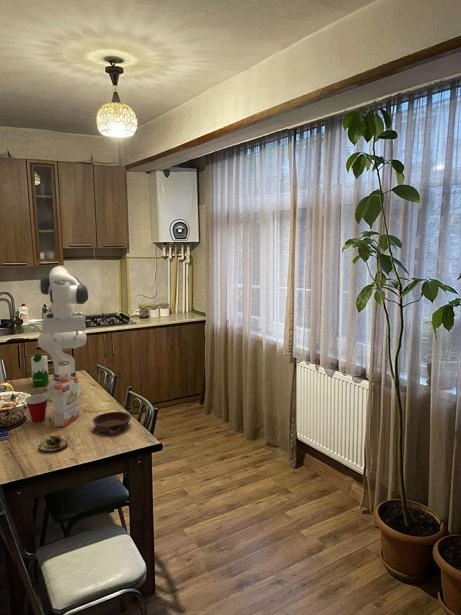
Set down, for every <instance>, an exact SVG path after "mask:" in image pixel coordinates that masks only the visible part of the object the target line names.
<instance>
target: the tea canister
mask: <svg viewBox="0 0 461 615" xmlns="http://www.w3.org/2000/svg"><path fill="white" fill-rule="evenodd" d="M58 373H59V382H68V381H70V380H71V374H70V361H61V362H58Z"/></svg>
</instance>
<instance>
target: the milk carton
mask: <svg viewBox="0 0 461 615" xmlns="http://www.w3.org/2000/svg"><path fill="white" fill-rule="evenodd" d="M30 365H31V379H32V386H33V388H41V387H42V388H44V387H46V386H48V384H49V383H50V382H49V380H50V379H49V366H48V355H42V354H41V353H35V354H34V355H33V356H32V357H31V358H30Z"/></svg>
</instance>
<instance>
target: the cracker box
mask: <svg viewBox="0 0 461 615" xmlns="http://www.w3.org/2000/svg"><path fill="white" fill-rule="evenodd" d="M78 382H79V378H78V377H77V376H76V377H71V380H70V381H68V382H57V383H55V384H53V385H52V389H53V401H52V402H53V406H52V407H53V421H54V422H53V423H54V424H53V425H54V427H60V428H61V427H62V428H63V427H64V428H65V427H66V426H68V425H70V424H71V423H72V422H74V421H75V420H76V419H78V418H80V399H79V396H80V395H78Z"/></svg>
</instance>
